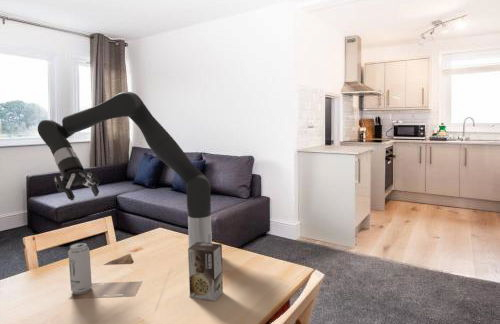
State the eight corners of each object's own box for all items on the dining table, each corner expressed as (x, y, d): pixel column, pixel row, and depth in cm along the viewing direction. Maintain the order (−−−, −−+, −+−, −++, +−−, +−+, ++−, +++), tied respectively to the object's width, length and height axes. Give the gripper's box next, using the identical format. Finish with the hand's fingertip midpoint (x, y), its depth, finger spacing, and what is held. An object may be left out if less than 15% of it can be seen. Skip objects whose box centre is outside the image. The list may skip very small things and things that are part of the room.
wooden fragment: (106, 285, 117) (105, 282, 117) (78, 282, 119) (77, 279, 119) (144, 256, 142) (144, 253, 142) (120, 254, 144) (120, 251, 144)
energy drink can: (67, 291, 110) (64, 246, 108) (85, 284, 115) (82, 241, 113) (77, 297, 107) (74, 250, 105) (95, 289, 112) (92, 244, 110)
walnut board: (142, 284, 117) (142, 281, 117) (135, 299, 107) (135, 296, 107) (82, 286, 116) (81, 283, 115) (68, 302, 106) (68, 299, 106)
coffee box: (223, 292, 111) (222, 244, 109) (215, 302, 105) (214, 251, 103) (198, 287, 114) (197, 240, 112) (188, 297, 108) (187, 247, 106)
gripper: (50, 157, 120) (67, 193, 114) (90, 154, 131) (107, 187, 126) (45, 171, 124) (61, 207, 118) (84, 166, 135) (101, 199, 129)
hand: (85, 196), depth 122 cm, fingers open, 8 cm apart
